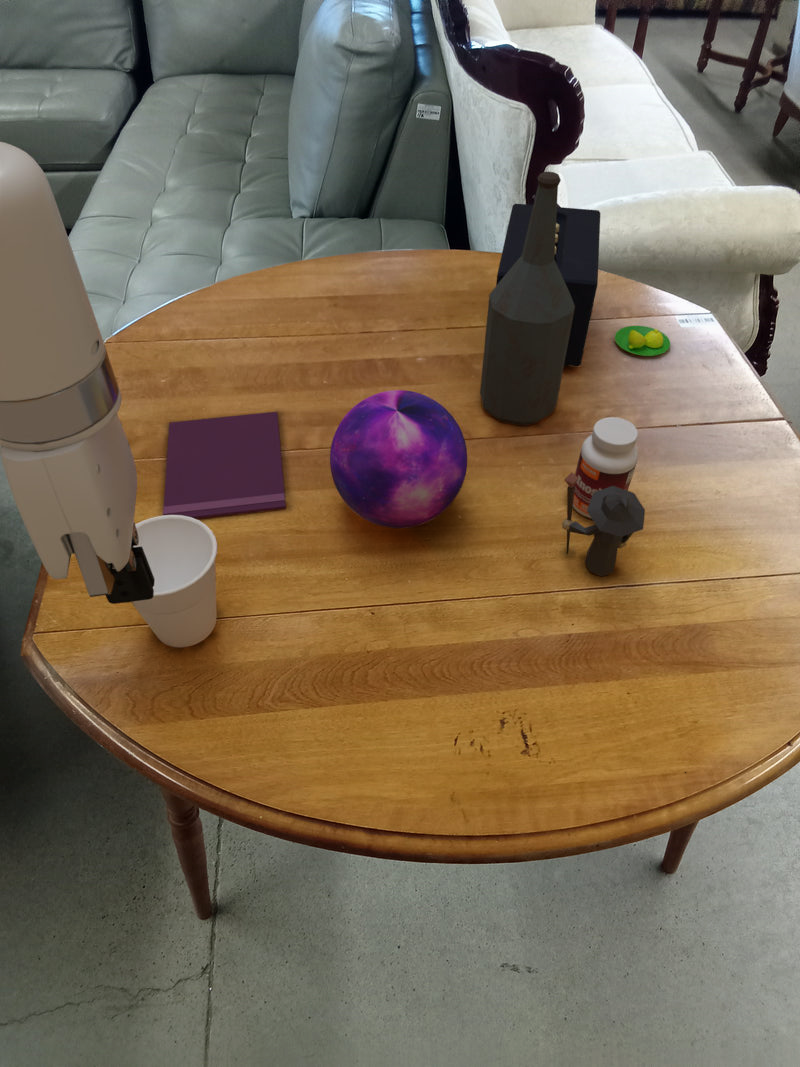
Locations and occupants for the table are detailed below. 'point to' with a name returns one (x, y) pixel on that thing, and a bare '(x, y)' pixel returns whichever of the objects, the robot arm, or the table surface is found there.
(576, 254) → the speaker
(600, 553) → the wizard figurine
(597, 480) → the pill bottle
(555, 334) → the bottle
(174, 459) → the book
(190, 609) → the cup
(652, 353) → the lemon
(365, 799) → the table surface
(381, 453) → the decorative orb
